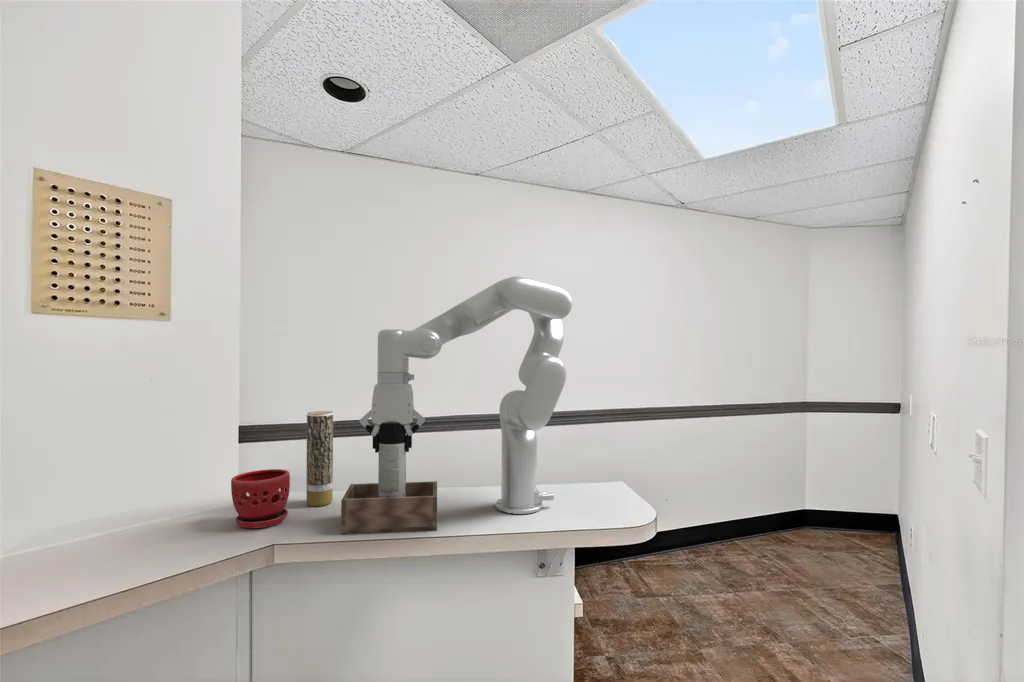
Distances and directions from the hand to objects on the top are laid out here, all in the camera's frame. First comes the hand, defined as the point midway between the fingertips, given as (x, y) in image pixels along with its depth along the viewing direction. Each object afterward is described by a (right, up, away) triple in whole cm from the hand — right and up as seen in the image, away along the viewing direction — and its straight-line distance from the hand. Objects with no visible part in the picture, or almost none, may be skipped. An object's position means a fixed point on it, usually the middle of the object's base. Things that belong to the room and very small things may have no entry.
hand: (392, 450), depth 132 cm
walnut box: (0, -18, 0) cm, 18 cm away
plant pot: (-32, -18, -1) cm, 37 cm away
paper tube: (-23, -18, +15) cm, 33 cm away
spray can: (0, -13, 0) cm, 13 cm away
